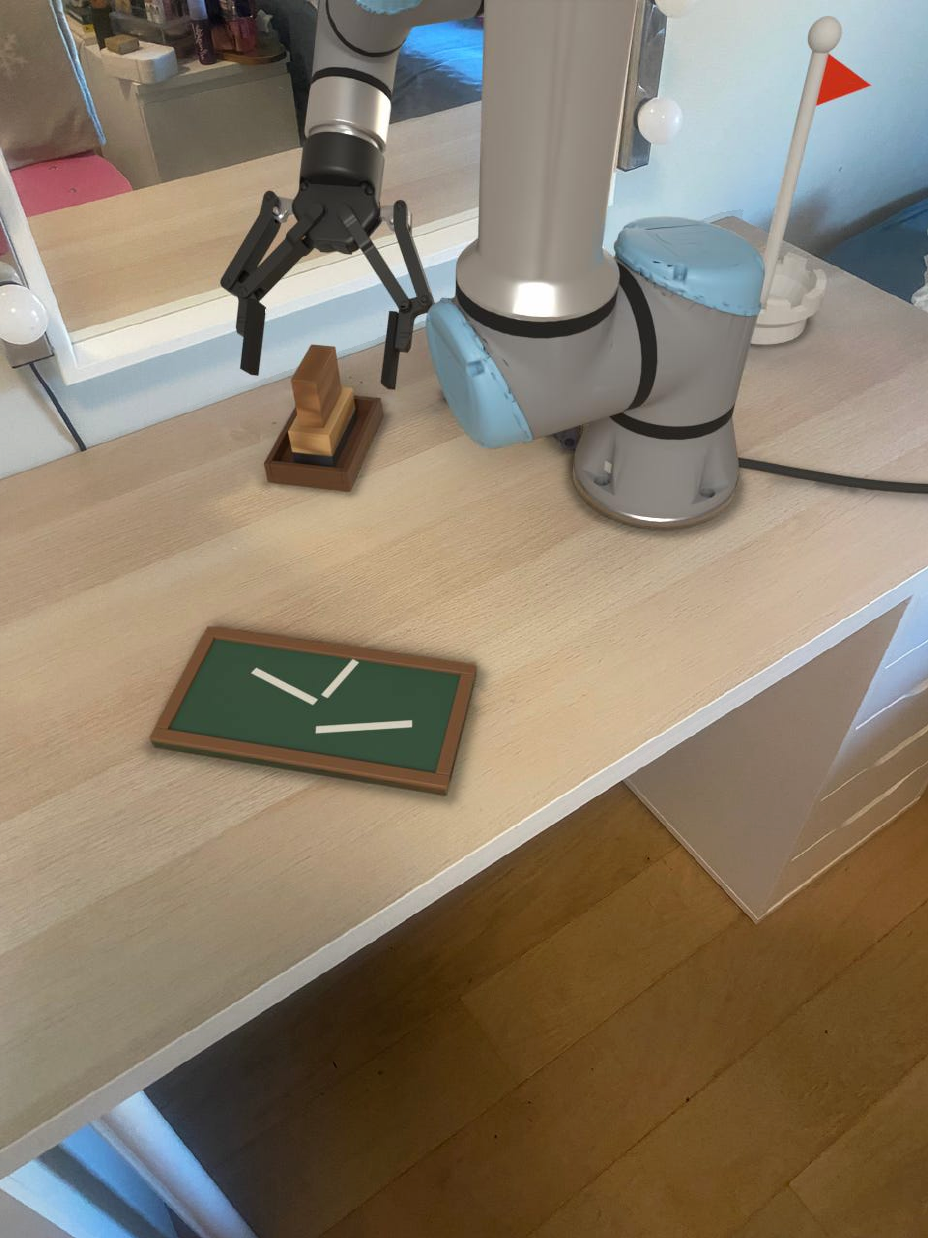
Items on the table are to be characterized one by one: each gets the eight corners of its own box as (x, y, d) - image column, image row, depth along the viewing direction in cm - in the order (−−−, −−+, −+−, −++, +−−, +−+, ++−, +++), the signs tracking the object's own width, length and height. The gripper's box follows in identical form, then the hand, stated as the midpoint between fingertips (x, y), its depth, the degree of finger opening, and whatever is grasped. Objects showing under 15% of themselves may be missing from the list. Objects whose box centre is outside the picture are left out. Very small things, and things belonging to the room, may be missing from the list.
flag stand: (686, 336, 101) (742, 30, 79) (712, 283, 109) (769, -9, 87) (804, 358, 98) (897, 45, 76) (822, 302, 106) (911, 3, 83)
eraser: (357, 420, 91) (346, 341, 84) (334, 469, 85) (321, 389, 79) (319, 416, 91) (306, 337, 85) (294, 464, 86) (278, 384, 79)
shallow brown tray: (383, 416, 92) (381, 397, 91) (350, 492, 84) (347, 472, 83) (307, 408, 94) (304, 389, 92) (267, 482, 86) (263, 463, 84)
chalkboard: (476, 674, 69) (476, 664, 68) (446, 796, 62) (446, 787, 61) (210, 636, 73) (207, 625, 72) (153, 748, 65) (148, 737, 64)
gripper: (483, 173, 84) (454, 400, 86) (234, 157, 88) (210, 375, 89) (471, 134, 77) (440, 383, 78) (200, 119, 80) (174, 356, 82)
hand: (317, 379), depth 84 cm, fingers open, 13 cm apart
